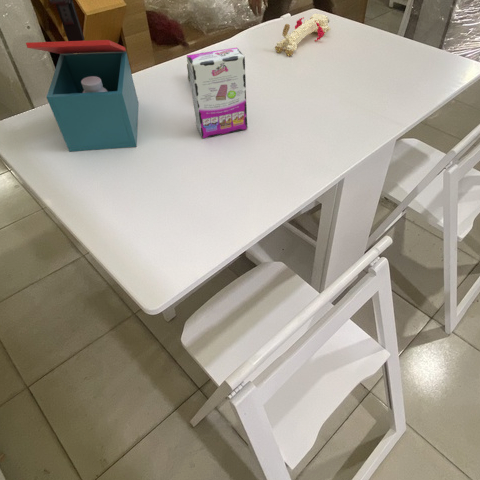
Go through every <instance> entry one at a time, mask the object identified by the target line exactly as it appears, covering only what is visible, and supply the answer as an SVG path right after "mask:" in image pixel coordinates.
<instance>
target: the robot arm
mask: <svg viewBox="0 0 480 480" xmlns="http://www.w3.org/2000/svg"><path fill="white" fill-rule="evenodd" d="M49 3H50V5H55V6H56V10H57V12H58V15H59V18H60V21H61V24H62V27H63V29H64V32H65V36H66V39H67V41H85V36H84V33H83V29H82V26H81V24H80V20H79V17H78V13H77V11H76V6H75V4H74V1H73V0H49Z"/></svg>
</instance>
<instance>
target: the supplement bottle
mask: <svg viewBox="0 0 480 480" xmlns="http://www.w3.org/2000/svg"><path fill="white" fill-rule="evenodd" d="M81 83H82V86H83V89H84V91H83V92H82V93H92V92H108V91H107V90H106V89H105V88H104V87H103V84H102V81H101V79H100V78H99V77H96V76H90V77H86V78H84V79H82V81H81Z"/></svg>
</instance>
